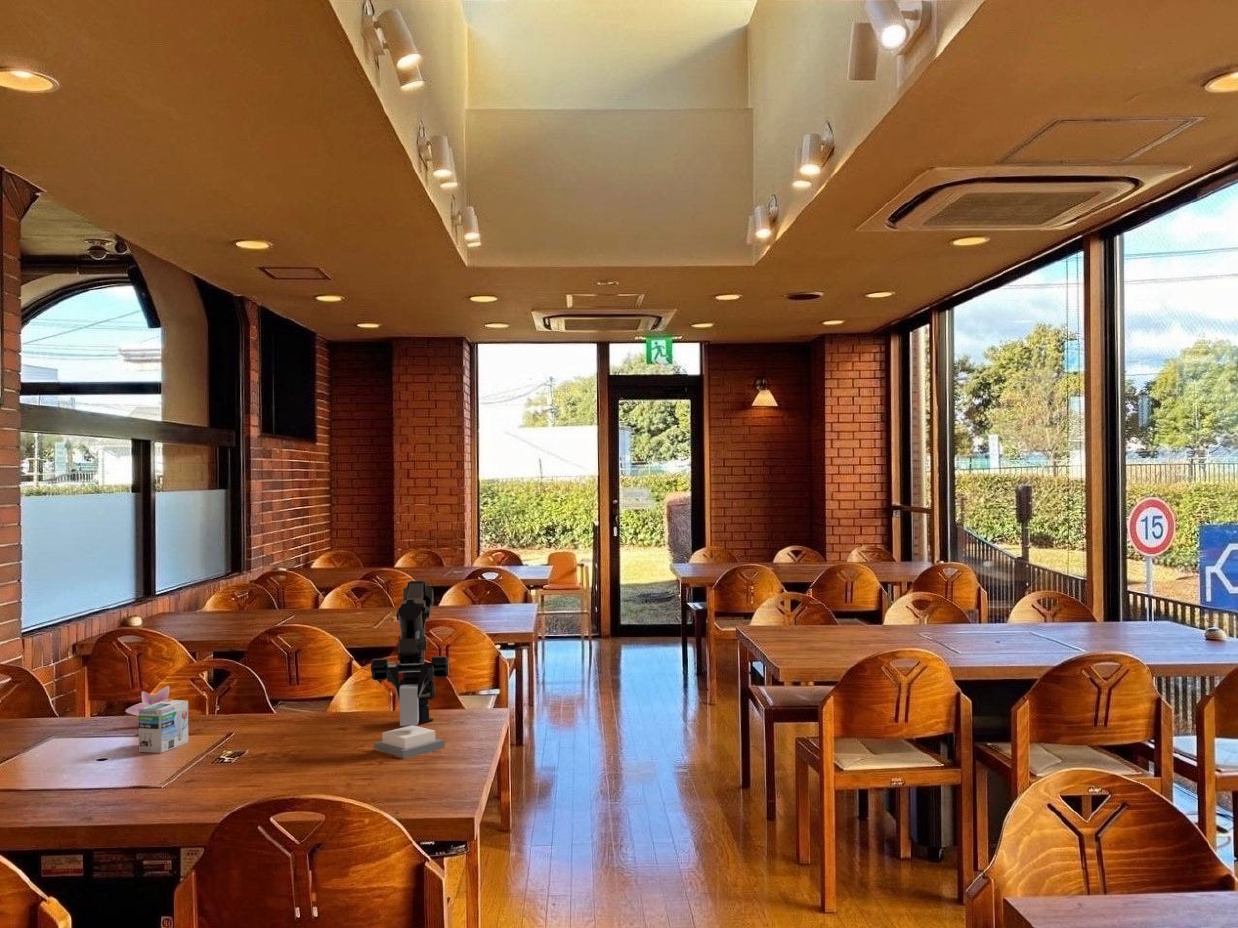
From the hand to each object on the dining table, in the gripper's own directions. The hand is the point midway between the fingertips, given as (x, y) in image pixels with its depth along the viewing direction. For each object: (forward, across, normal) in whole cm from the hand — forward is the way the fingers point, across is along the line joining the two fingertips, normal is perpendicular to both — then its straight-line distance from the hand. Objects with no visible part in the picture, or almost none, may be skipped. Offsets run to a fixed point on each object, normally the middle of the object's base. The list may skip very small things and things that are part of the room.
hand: (408, 697), depth 232 cm
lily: (-19, -72, +38) cm, 83 cm away
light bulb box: (-2, -61, +20) cm, 65 cm away
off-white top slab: (+7, 0, +8) cm, 11 cm away
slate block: (+4, 0, +6) cm, 7 cm away
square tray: (+9, 0, +10) cm, 14 cm away
